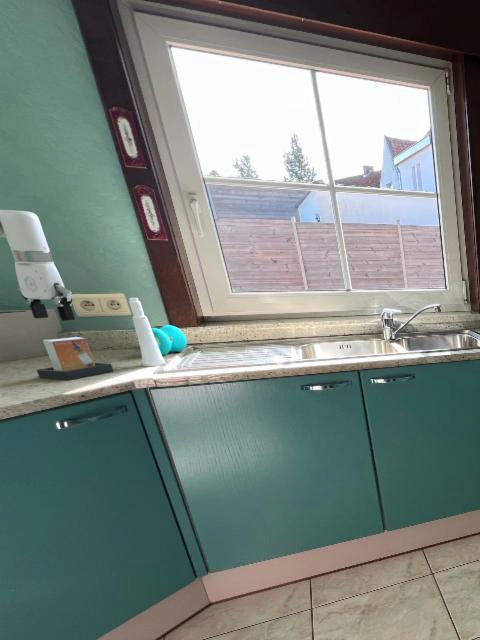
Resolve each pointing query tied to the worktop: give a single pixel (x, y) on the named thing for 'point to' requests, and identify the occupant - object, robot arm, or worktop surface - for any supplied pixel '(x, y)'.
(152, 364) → the cosmetic bottle
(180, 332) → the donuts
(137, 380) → the worktop surface
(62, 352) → the small box
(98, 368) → the black tray
